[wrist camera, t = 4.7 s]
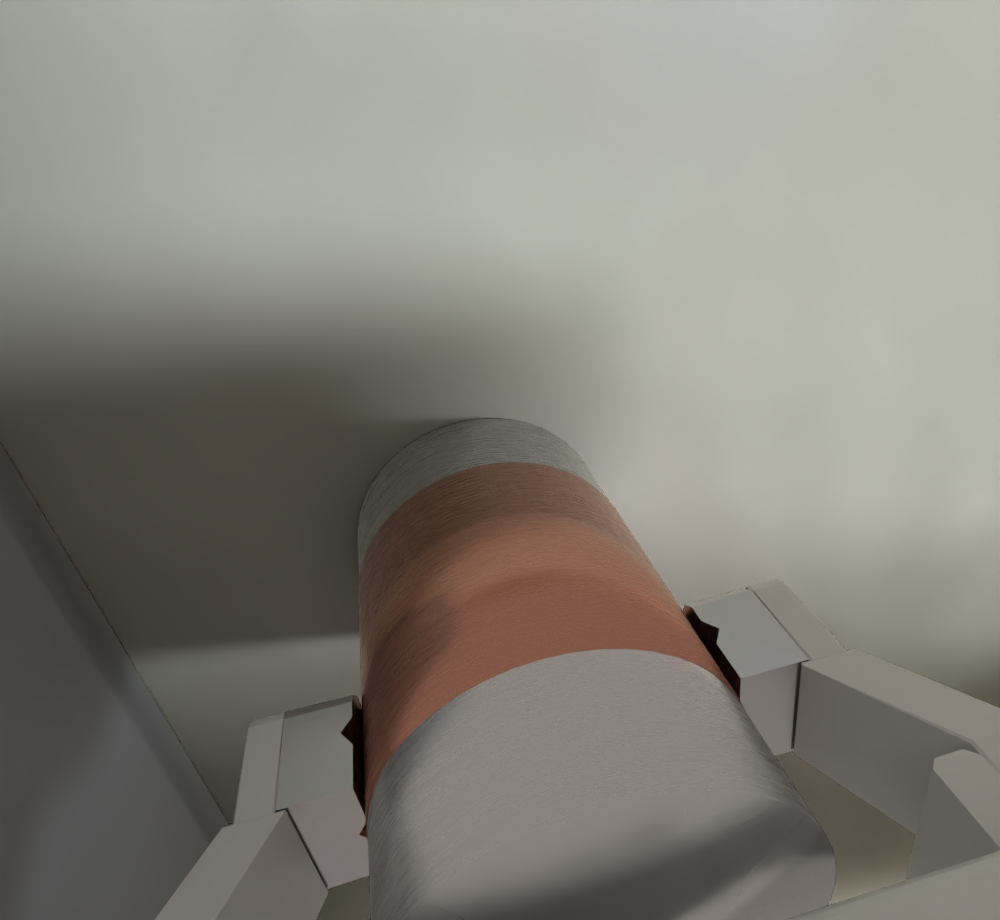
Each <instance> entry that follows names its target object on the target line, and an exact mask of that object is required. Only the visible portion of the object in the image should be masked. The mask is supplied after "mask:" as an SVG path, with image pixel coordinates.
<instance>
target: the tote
mask: <svg viewBox="0 0 1000 920" xmlns="http://www.w3.org/2000/svg"><path fill="white" fill-rule="evenodd" d="M227 826H230V825H229V823H228V822H227V820H226V818H225V817H224V815H223V813H222V812H221V810H220V808H219V807H218V805H217V803H216V802H215V800H214V798H213V797H212V795H211V793H210V792H209V790H208V788H207V787H206V785H205V783H204V782H203V780H202V778H201V777H200V775H199V773H198V772H197V770H196V768H195V767H194V765H193V763H192V762H191V760H190V758H189V757H188V755H187V753H186V752H185V750H184V748H183V747H182V745H181V743H180V742H179V740H178V738H177V737H176V735H175V733H174V732H173V730H172V728H171V727H170V725H169V723H168V722H167V720H166V718H165V717H164V715H163V713H162V712H161V710H160V708H159V707H158V705H157V703H156V702H155V700H154V698H153V697H152V695H151V693H150V692H149V690H148V688H147V687H146V685H145V683H144V682H143V680H142V678H141V677H140V675H139V673H138V672H137V670H136V668H135V667H134V665H133V663H132V662H131V660H130V658H129V657H128V655H127V653H126V652H125V650H124V648H123V647H122V645H121V643H120V642H119V640H118V638H117V637H116V635H115V633H114V632H113V630H112V628H111V627H110V625H109V623H108V622H107V620H106V618H105V617H104V615H103V613H102V612H101V610H100V608H99V607H98V605H97V603H96V602H95V600H94V598H93V597H92V595H91V593H90V592H89V590H88V588H87V587H86V585H85V583H84V582H83V580H82V578H81V577H80V575H79V573H78V572H77V570H76V568H75V567H74V565H73V563H72V562H71V560H70V558H69V557H68V555H67V553H66V552H65V550H64V548H63V547H62V545H61V543H60V542H59V540H58V538H57V537H56V535H55V533H54V532H53V530H52V528H51V527H50V525H49V523H48V522H47V520H46V518H45V517H44V515H43V513H42V512H41V510H40V508H39V507H38V505H37V503H36V502H35V500H34V498H33V497H32V495H31V493H30V492H29V490H28V488H27V487H26V485H25V483H24V482H23V480H22V478H21V477H20V475H19V473H18V472H17V470H16V468H15V467H14V465H13V463H12V462H11V460H10V458H9V457H8V455H7V453H6V452H5V450H4V448H3V447H2V445H1V443H0V920H155V918H156V917H157V916H158V914H159V913H160V912H161V910H162V909H163V907H164V906H165V905H166V903H167V902H168V901H169V899H170V898H171V897H172V895H173V894H174V892H175V891H176V890H177V888H178V887H179V886H180V884H181V883H182V882H183V880H184V879H185V878H186V876H187V875H188V873H189V872H190V871H191V869H192V868H193V867H194V865H195V864H196V863H197V861H198V860H199V858H200V857H201V856H202V854H203V853H204V852H205V850H206V849H207V848H208V846H209V845H210V843H211V842H212V841H213V839H214V838H215V837H216V835H217V834H218V833H219V831H220V830H221V828H223V827H227Z"/></svg>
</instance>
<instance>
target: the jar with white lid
mask: <svg viewBox="0 0 1000 920" xmlns="http://www.w3.org/2000/svg"><path fill="white" fill-rule="evenodd" d="M358 560H359V589H358V596H359V628H360V660H361V692H362V725H363V757H364V789H365V821H366V833H367V841H368V860H369V890H370V920H785V919H788V918H791V917H794V916H798V915H801V914H804V913H807V912H810V911H813V910H816V909H819V908H823V907H826V906H828V904H829V902H830V900H831V897H832V893H833V889H834V885H835V879H836V862H835V857H834V852H833V848H832V846H831V844H830V842H829V840H828V838H827V836H826V834H825V833H824V831H823V830H822V828H821V827H820V825H819V823H818V822H817V820H816V819H815V817H814V816H813V814H812V813H811V811H810V810H809V808H808V807H807V805H806V803H805V802H804V800H803V799H802V797H801V796H800V794H799V793H798V791H797V790H796V788H795V787H794V785H793V783H792V782H791V780H790V779H789V777H788V776H787V774H786V773H785V771H784V770H783V768H782V766H781V765H780V763H779V762H778V760H777V759H776V757H775V756H774V754H773V753H772V751H771V750H770V748H769V746H768V745H767V743H766V742H765V740H764V739H763V737H762V736H761V734H760V733H759V731H758V730H757V728H756V726H755V725H754V723H753V722H752V720H751V719H750V717H749V716H748V714H747V713H746V711H745V709H744V707H743V705H742V703H741V701H740V699H739V697H738V696H737V694H736V693H735V691H734V690H733V688H732V687H731V685H730V683H729V682H728V680H727V679H726V677H725V676H724V674H723V673H722V671H721V670H720V668H719V667H718V665H717V664H716V662H715V660H714V659H713V657H712V656H711V654H710V653H709V651H708V650H707V648H706V647H705V645H704V644H703V642H702V641H701V639H700V638H699V636H698V634H697V633H696V631H695V630H694V628H693V627H692V625H691V624H690V622H689V621H688V619H687V618H686V616H685V615H684V613H683V611H682V610H681V608H680V607H679V605H678V604H677V602H676V601H675V599H674V598H673V596H672V595H671V593H670V592H669V590H668V588H667V587H666V585H665V584H664V582H663V581H662V579H661V578H660V576H659V575H658V573H657V572H656V570H655V569H654V567H653V565H652V564H651V562H650V561H649V559H648V558H647V556H646V555H645V553H644V552H643V550H642V549H641V547H640V546H639V544H638V542H637V541H636V539H635V538H634V536H633V535H632V533H631V532H630V530H629V529H628V527H627V526H626V524H625V523H624V521H623V519H622V518H621V516H620V515H619V513H618V512H617V510H616V509H615V508H614V506H613V505H612V504H611V503H610V501H609V500H608V498H607V497H606V495H605V494H604V492H603V491H602V489H601V488H600V486H599V485H598V483H597V482H596V480H595V478H594V477H593V475H592V474H591V472H590V471H589V469H588V468H587V466H586V465H585V463H584V462H583V461H582V459H581V458H580V457H579V455H578V454H577V453H576V452H575V451H574V450H573V449H572V448H571V447H570V446H569V445H568V444H567V443H566V442H564V441H563V440H561V439H560V438H558V437H557V436H555V435H554V434H552V433H550V432H548V431H546V430H544V429H542V428H540V427H537V426H534V425H531V424H528V423H524V422H519V421H514V420H508V419H494V418H492V419H475V420H470V421H464V422H458V423H455V424H452V425H448V426H445V427H442V428H440V429H437V430H435V431H433V432H430V433H428V434H426V435H424V436H422V437H421V438H419V439H417V440H416V441H414V442H412V443H411V444H409V445H408V446H407V447H405V448H404V449H403V450H401V451H400V452H399V453H397V454H396V455H395V456H394V457H393V458H392V459H391V460H390V461H389V462H388V463H387V464H386V465H385V467H384V468H383V469H382V470H381V472H380V473H379V474H378V475H377V477H376V478H375V480H374V481H373V483H372V485H371V487H370V488H369V490H368V492H367V494H366V497H365V499H364V502H363V504H362V508H361V512H360V516H359V522H358Z"/></svg>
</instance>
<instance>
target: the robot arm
mask: <svg viewBox="0 0 1000 920" xmlns="http://www.w3.org/2000/svg"><path fill="white" fill-rule="evenodd" d="M683 613H684V615H685V616H686V618H687V619H688V621H689V622H690V624H691V625H692V627H693V628H694V630H695V631H696V633H697V634H698V636H699V638H700V639H701V641H702V642H703V644H704V645H705V647H706V648H707V650H708V651H709V653H710V654H711V656H712V657H713V659H714V660H715V662H716V664H717V665H718V667H719V668H720V670H721V671H722V673H723V674H724V676H725V677H726V679H727V680H728V682H729V683H730V685H731V687H732V688H733V690H734V691H735V693H736V694H737V696H738V697H739V699H740V701H741V703H742V705H743V707H744V709H745V711H746V713H747V714H748V716H749V717H750V719H751V720H752V722H753V723H754V725H755V726H756V728H757V730H758V731H759V733H760V734H761V736H762V737H763V739H764V740H765V742H766V743H767V745H768V746H769V748H770V750H771V751H772V753H773V754H774V756H776V755H780V754H784V753H787V752H791V751H794V755H796V756H797V757H799V758H800V759H802V760H804V761H805V762H807V763H808V764H810V765H811V766H813V767H814V768H816V769H817V770H819V771H820V772H822V773H823V774H825V775H826V776H828V777H829V778H831V779H832V780H834V781H835V782H837V783H838V784H840V785H841V786H843V787H844V788H846V789H847V790H849V791H850V792H852V793H853V794H855V795H856V796H858V797H859V798H861V799H862V800H864V801H865V802H867V803H868V804H870V805H871V806H873V807H874V808H876V809H877V810H879V811H880V812H882V813H883V814H885V815H886V816H888V817H889V818H891V819H892V820H894V821H895V822H897V823H898V824H900V825H901V826H903V827H904V828H906V829H907V830H909V831H910V832H912V833H913V834H915V835H916V836H915V841H914V845H913V849H912V853H911V857H910V861H909V866H908V870H907V874H906V880H907V881H904V882H900V883H897V884H894V885H891V886H888V887H885V888H882V889H879V890H875V891H872V892H869V893H866V894H863V895H860V896H857V897H854V898H851V899H847V900H844V901H841V902H838V903H835V904H832V905H829V906H826V907H823V908H819V909H816V910H813V911H810V912H807V913H804V914H801V915H798V916H794V917H791V918H788V919H785V920H1000V708H998V707H996V706H994V705H991V704H989V703H986V702H984V701H981V700H979V699H977V698H974V697H972V696H969V695H967V694H964V693H962V692H960V691H957V690H955V689H952V688H950V687H948V686H945V685H943V684H940V683H938V682H935V681H933V680H931V679H928V678H926V677H923V676H921V675H919V674H916V673H914V672H911V671H909V670H906V669H904V668H902V667H899V666H897V665H894V664H892V663H889V662H887V661H885V660H882V659H880V658H877V657H875V656H873V655H870V654H868V653H865V652H863V651H860V650H858V649H856V648H854V649H850V650H845V649H844V648H843V647H842V646H841V645H840V644H839V643H838V642H837V641H836V639H835V638H834V637H833V636H832V635H831V634H830V633H829V632H828V631H827V630H826V629H825V627H824V626H823V625H822V624H821V623H820V622H819V621H818V620H817V619H816V618H815V616H814V615H813V614H812V613H811V612H810V611H809V610H808V609H807V608H806V607H805V606H804V604H803V603H802V602H801V601H800V600H799V599H798V598H797V597H796V596H795V595H794V594H793V592H792V591H791V590H790V589H789V588H788V587H787V586H786V585H785V584H784V583H783V582H782V581H779V580H777V579H775V580H771V581H768V582H764V583H761V584H757V585H753V586H750V587H746V588H745V589H739V590H736V591H732V592H728V593H725V594H721V595H718V596H714V597H711V598H707V599H704V600H700V601H697V602H693V603H689V604H686V605H685V606H684V609H683ZM366 876H369V860H368V841H367V833H366V821H365V789H364V757H363V725H362V707H361V704H360V702H359V700H358V697H357V696H355V695H351V696H347V697H343V698H339V699H335V700H331V701H327V702H323V703H319V704H314V705H310V706H306V707H302V708H298V709H294V710H290V711H287V712H285V713H281V714H276V715H272V716H268V717H264V718H260V719H256V720H252V722H251V724H250V726H249V728H248V730H247V734H246V741H245V747H244V754H243V760H242V767H241V773H240V780H239V787H238V793H237V800H236V806H235V813H234V819H233V825H230V826H227V827H223V828H221V830H220V831H219V833H218V834H217V835H216V837H215V838H214V839H213V841H212V842H211V843H210V845H209V846H208V848H207V849H206V850H205V852H204V853H203V854H202V856H201V857H200V858H199V860H198V861H197V863H196V864H195V865H194V867H193V868H192V869H191V871H190V872H189V873H188V875H187V876H186V878H185V879H184V880H183V882H182V883H181V884H180V886H179V887H178V888H177V890H176V891H175V892H174V894H173V895H172V897H171V898H170V899H169V901H168V902H167V903H166V905H165V906H164V907H163V909H162V910H161V912H160V913H159V914H158V916H157V917H156V918H155V920H316V919H317V917H318V915H319V912H320V910H321V908H322V906H323V904H324V902H325V899H326V897H327V895H328V891H327V889H330V888H333V887H336V886H339V885H342V884H345V883H348V882H351V881H354V880H357V879H360V878H363V877H366Z"/></svg>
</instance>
